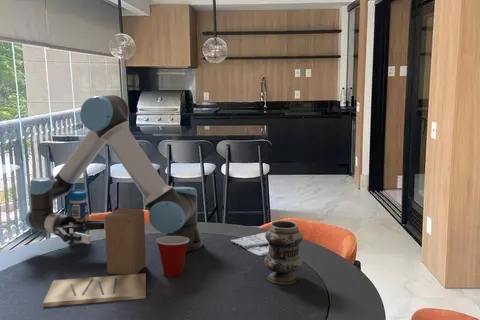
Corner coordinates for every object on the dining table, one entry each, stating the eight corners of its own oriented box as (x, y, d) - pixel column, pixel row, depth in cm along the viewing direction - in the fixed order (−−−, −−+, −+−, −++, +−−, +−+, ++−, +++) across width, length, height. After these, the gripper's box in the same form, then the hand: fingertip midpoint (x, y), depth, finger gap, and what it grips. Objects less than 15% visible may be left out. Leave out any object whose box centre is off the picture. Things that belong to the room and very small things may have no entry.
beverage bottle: (62, 240, 190) (61, 191, 186) (80, 235, 197) (79, 188, 193) (76, 245, 185) (75, 195, 182) (94, 239, 192) (93, 191, 189)
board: (145, 276, 154) (145, 273, 154) (145, 298, 139) (145, 293, 138) (53, 284, 149) (53, 280, 149) (43, 306, 133) (42, 302, 133)
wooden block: (135, 277, 154) (132, 216, 151) (106, 274, 156) (103, 215, 153) (147, 266, 164) (145, 209, 161) (119, 263, 166) (117, 207, 163)
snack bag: (269, 235, 199) (269, 230, 198) (299, 249, 181) (299, 244, 181) (229, 243, 189) (229, 238, 188) (257, 258, 172) (257, 253, 171)
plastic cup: (195, 269, 160) (194, 235, 158) (181, 282, 150) (180, 245, 148) (166, 266, 164) (165, 232, 162) (150, 277, 153) (149, 241, 152)
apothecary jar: (297, 288, 145) (298, 231, 142) (259, 283, 149) (259, 227, 146) (305, 274, 156) (306, 220, 153) (270, 269, 160) (270, 217, 158)
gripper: (87, 226, 184) (130, 235, 174) (31, 244, 162) (76, 255, 152) (87, 207, 183) (129, 215, 172) (30, 222, 161) (75, 233, 151)
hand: (104, 234), depth 162 cm, fingers open, 13 cm apart
